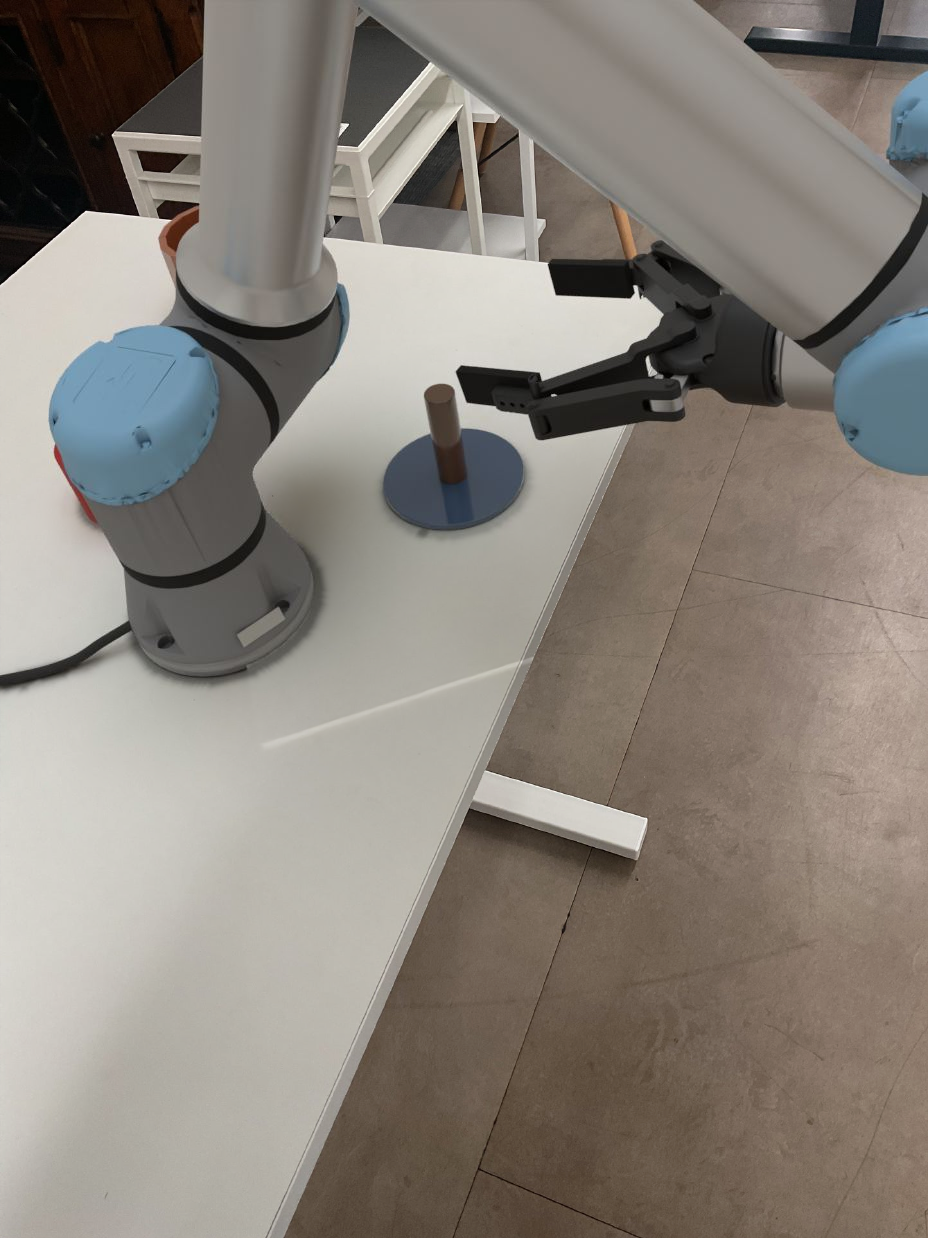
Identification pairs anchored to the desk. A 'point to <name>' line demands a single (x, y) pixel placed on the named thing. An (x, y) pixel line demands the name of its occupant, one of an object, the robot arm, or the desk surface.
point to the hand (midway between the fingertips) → (510, 328)
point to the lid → (452, 471)
